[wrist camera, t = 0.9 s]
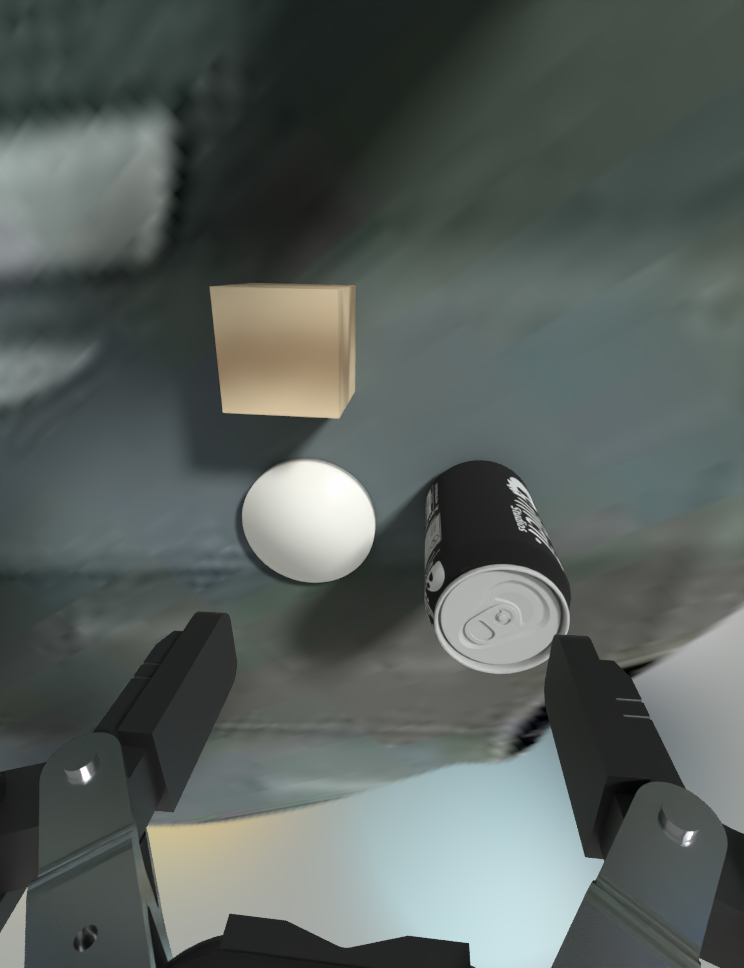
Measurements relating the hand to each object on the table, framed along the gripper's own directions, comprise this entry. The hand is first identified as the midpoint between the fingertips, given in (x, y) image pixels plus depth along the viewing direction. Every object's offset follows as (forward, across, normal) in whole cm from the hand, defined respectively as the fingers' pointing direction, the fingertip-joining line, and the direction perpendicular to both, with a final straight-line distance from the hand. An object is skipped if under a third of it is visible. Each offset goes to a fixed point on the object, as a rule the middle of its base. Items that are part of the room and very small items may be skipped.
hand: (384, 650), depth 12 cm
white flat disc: (+20, +7, +7) cm, 22 cm away
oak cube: (+20, +6, -5) cm, 22 cm away
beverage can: (+20, -4, +6) cm, 21 cm away
